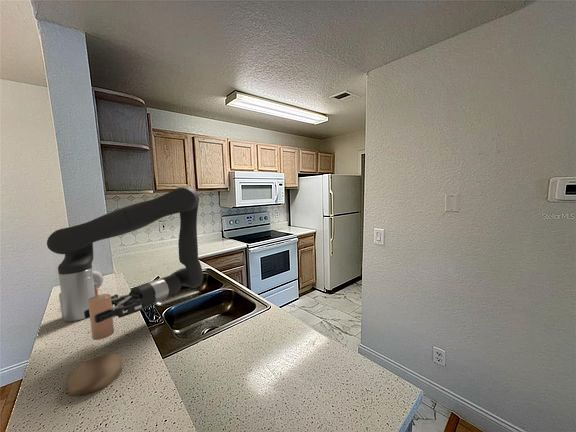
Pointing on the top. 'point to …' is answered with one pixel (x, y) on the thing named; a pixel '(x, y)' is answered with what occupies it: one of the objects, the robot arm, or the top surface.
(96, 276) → the donut
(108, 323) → the tan rounded post
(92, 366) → the brown disc
